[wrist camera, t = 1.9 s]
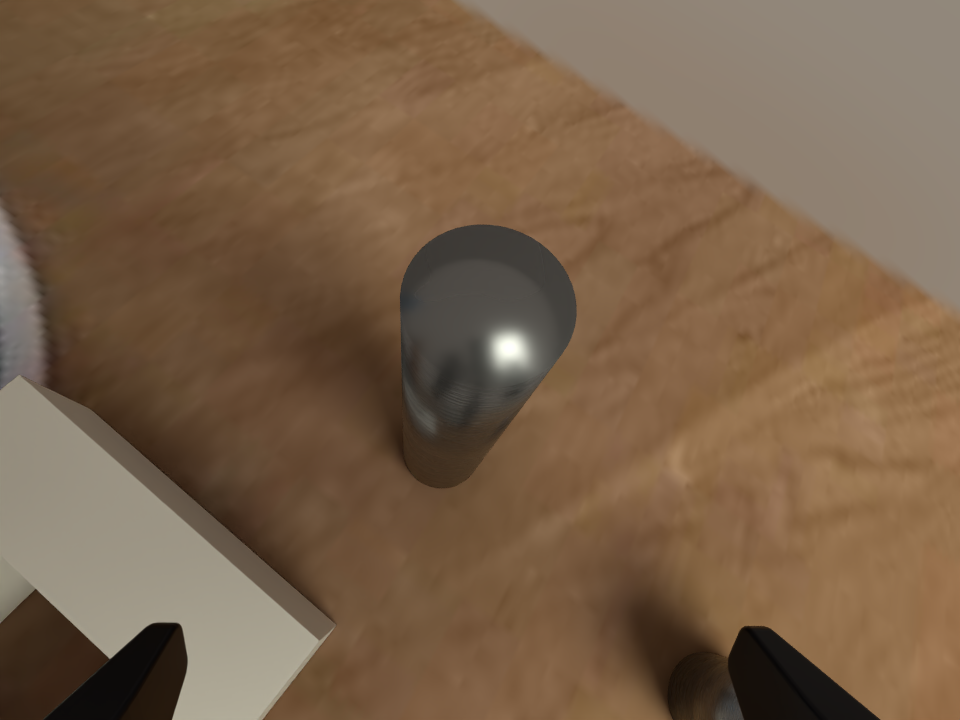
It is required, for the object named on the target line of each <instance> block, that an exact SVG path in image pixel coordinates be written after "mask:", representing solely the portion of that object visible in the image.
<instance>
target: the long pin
mask: <svg viewBox="0 0 960 720" xmlns="http://www.w3.org/2000/svg"><path fill="white" fill-rule="evenodd" d="M400 312H401V361H402V410H403V454H404V459H405V463H406V465H407V468H408V469H409V471H410V472H411V474H412V475H413V476H414V477H415V478H416V479H417V480H418V481H420V482H421V483H423V484H425V485H427V486H430V487H434V488H450V487H453V486H456V485H458V484H461V483H462V482H464V481H465V480H466V479H467V478H469V477H470V475H471V474H472V473H473V472H474V470H475V469H476V468H477V466H478V465H479V464H480V462H481V461H482V460H483V458H484V457H485V456H486V454H487V453H488V452H489V450H490V449H491V448H492V446H493V445H494V444H495V443H496V441H497V440H498V439H499V437H500V436H501V435H502V433H503V432H504V431H505V429H506V428H507V427H508V425H509V424H510V423H511V421H512V420H513V419H514V417H515V416H516V415H517V413H518V412H519V411H520V409H521V408H522V407H523V405H524V404H525V403H526V401H527V400H528V399H529V397H530V396H531V395H532V393H533V392H534V391H535V389H536V388H537V387H538V385H539V384H540V383H541V381H542V380H543V379H544V377H545V376H546V375H547V373H548V372H549V371H550V369H551V368H552V367H553V365H554V364H555V363H556V361H557V360H558V359H559V357H560V356H561V355H562V353H563V352H564V350H565V349H566V347H567V346H568V343H569V341H570V339H571V337H572V334H573V331H574V328H575V322H576V299H575V294H574V290H573V286H572V284H571V281H570V279H569V277H568V275H567V273H566V271H565V270H564V268H563V266H562V265H561V264H560V262H559V261H558V260H557V258H556V257H555V256H554V255H553V254H552V253H551V252H550V251H549V250H548V249H546V248H545V247H544V246H543V245H542V244H540V243H539V242H537V241H536V240H534V239H533V238H531V237H529V236H527V235H525V234H523V233H521V232H518V231H515V230H513V229H509V228H505V227H501V226H494V225H470V226H464V227H460V228H456V229H453V230H450V231H447V232H445V233H443V234H441V235H439V236H437V237H436V238H434V239H433V240H431V241H430V242H428V243H427V244H426V245H425V246H424V247H423V248H422V249H421V250H420V251H419V252H418V253H417V254H416V255H415V257H414V258H413V260H412V261H411V263H410V264H409V266H408V268H407V270H406V273H405V275H404V278H403V282H402V286H401V293H400Z"/></svg>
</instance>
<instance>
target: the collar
mask: <svg viewBox="0 0 960 720" xmlns="http://www.w3.org/2000/svg"><path fill="white" fill-rule="evenodd" d="M35 589H37V590H38V591H39V592H40V593H41V594H42V595H43V596H44V597H45V598H46V599H47V600H48V601H49V602H50V603H51V604H52V605H53V606H55V607H56V608H57V609H58V610H59V611H60V612H61V613H62V614H63V615H64V616H65V617H66V618H67V619H68V620H69V621H70V622H71V623H72V624H74V625H75V626H76V627H77V628H78V629H79V630H80V631H81V632H82V633H83V634H84V635H85V636H86V637H87V638H88V639H89V640H90V641H91V642H93V643H94V644H95V645H96V646H97V647H98V648H99V649H100V650H101V651H102V652H103V653H104V654H105V655H106V656H107V657H108V658H109V659H111V658H112V657H113V656H114V655H115V654H116V653H117V652H118V651H119V650H121V649H122V648H123V647H124V646H125V645H126V644H127V643H128V642H129V641H131V640H132V639H133V638H134V637H135V636H136V635H137V634H138V633H139V632H141V631H142V630H143V629H144V628H145V627H146V626H148V625H150V624H152V623H156V622H176V623H179V624H180V625H181V626H182V629H183V634H184V639H185V645H186V651H187V656H188V666H187V672H186V676H185V679H184V683H183V686H182V689H181V692H180V696H179V699H178V702H177V705H176V709H175V712H174V715H173V718H172V720H262V719H263V718H264V717H265V716H266V714H267V713H268V712H269V710H270V709H271V708H272V707H273V705H274V704H275V703H276V702H277V700H278V699H279V698H280V696H281V695H282V694H283V693H284V691H285V690H286V689H287V688H288V686H289V685H290V684H291V682H292V681H293V680H294V679H295V677H296V676H297V675H298V674H299V672H300V671H301V670H302V668H303V667H304V666H305V665H306V663H307V662H308V661H309V660H310V658H311V657H312V656H313V654H314V653H315V652H316V651H317V649H318V648H319V647H320V646H321V644H322V643H323V642H324V640H325V639H326V638H327V637H328V635H329V634H330V633H331V632H332V630H333V629H334V628H335V626H336V624H335V623H334V622H332V621H331V620H330V619H329V618H328V617H327V616H326V615H324V614H323V613H322V612H321V611H320V610H319V609H318V608H316V607H315V606H314V605H313V604H312V603H311V602H310V601H308V600H307V599H306V598H305V597H304V596H303V595H302V594H300V593H299V592H298V591H297V590H296V589H295V588H294V587H293V586H291V585H290V584H289V583H288V582H287V581H286V580H285V579H283V578H282V577H281V576H280V575H279V574H278V573H277V572H275V571H274V570H273V569H272V568H271V567H270V566H269V565H267V564H266V563H265V562H264V561H263V560H262V559H261V558H259V557H258V556H257V555H256V554H255V553H254V552H253V551H251V550H250V549H249V548H248V547H247V546H246V545H245V544H244V543H242V542H241V541H240V540H239V539H238V538H237V537H236V536H234V535H233V534H232V533H231V532H230V531H229V530H228V529H226V528H225V527H224V526H223V525H222V524H221V523H220V522H218V521H217V520H216V519H215V518H214V517H213V516H212V515H210V514H209V513H208V512H207V511H206V510H205V509H204V508H203V507H201V506H200V505H199V504H198V503H197V502H196V501H195V500H193V499H192V498H191V497H190V496H189V495H188V494H187V493H185V492H184V491H183V490H182V489H181V488H180V487H179V486H177V485H176V484H175V483H174V482H173V481H172V480H171V479H169V478H168V477H167V476H166V475H165V474H164V473H163V472H161V471H160V470H159V469H158V468H157V467H156V466H155V465H154V464H152V463H151V462H150V461H149V460H148V459H147V458H146V457H144V456H143V455H142V454H141V453H140V452H139V451H138V450H136V449H135V448H134V447H133V446H132V445H131V444H130V443H128V442H127V441H126V440H125V439H124V438H123V437H122V436H120V435H119V434H118V433H117V432H116V431H115V430H114V429H113V428H111V427H110V426H109V425H108V424H107V423H106V422H105V421H103V420H102V419H101V418H100V417H99V416H98V415H97V414H95V413H94V412H93V411H92V410H91V409H89V408H87V407H85V406H83V405H81V404H79V403H77V402H75V401H72V400H70V399H68V398H66V397H64V396H62V395H60V394H58V393H56V392H54V391H52V390H50V389H48V388H46V387H44V386H42V385H39V384H37V383H35V382H33V381H31V380H29V379H27V378H25V377H23V376H21V375H18V376H17V377H16V378H15V379H13V380H12V381H11V382H10V383H8V384H7V385H6V386H5V387H3V388H2V389H1V390H0V623H1V622H2V621H3V620H4V619H5V618H6V617H7V616H8V615H9V614H10V613H11V612H12V611H13V610H14V609H15V608H16V607H17V606H18V605H19V604H20V603H21V602H22V601H24V600H25V599H26V598H27V597H28V596H29V595H30V594H31V593H32V592H33V591H34V590H35Z"/></svg>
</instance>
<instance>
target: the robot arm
mask: <svg viewBox="0 0 960 720" xmlns="http://www.w3.org/2000/svg"><path fill="white" fill-rule="evenodd" d="M187 666H188V656H187V651H186V645H185V639H184V634H183V629H182V626H181V625H180V624H179V623H176V622H156V623H152V624H150V625H148V626H146V627H145V628H144V629H143V630H142V631H141V632H139V633H138V634H137V635H136V636H135V637H134V638H133V639H132V640H131V641H129V642H128V643H127V644H126V645H125V646H124V647H123V648H122V649H121V650H119V651H118V652H117V653H116V654H115V655H114V656H113V657H112V658H111V659H109V660H108V661H107V662H106V663H105V664H104V665H103V666H102V667H101V668H99V669H98V670H97V671H96V672H95V673H94V674H93V675H92V676H91V677H89V678H88V679H87V680H86V681H85V682H84V683H83V684H82V685H81V686H79V687H78V688H77V689H76V690H75V691H74V692H73V693H72V694H71V695H69V696H68V697H67V698H66V699H65V700H64V701H63V702H62V703H61V704H59V705H58V706H57V707H56V708H55V709H54V710H53V711H52V712H51V713H49V714H48V715H47V716H46V717H45V718H44V719H43V720H172V718H173V715H174V712H175V709H176V705H177V702H178V699H179V696H180V692H181V689H182V686H183V683H184V679H185V676H186V672H187ZM728 671H729V675H730V678H731V682H732V685H733V688H734V691H735V694H736V697H737V700H738V703H739V706H740V710H741V713H742V716H743V719H744V720H880V719H879V718H878V717H877V716H875V715H874V714H873V713H872V712H871V711H869V710H868V709H867V708H866V707H865V706H863V705H862V704H861V703H860V702H858V701H857V700H856V699H855V698H854V697H852V696H851V695H850V694H849V693H848V692H846V691H845V690H844V689H843V688H842V687H840V686H839V685H838V684H837V683H836V682H834V681H833V680H832V679H831V678H830V677H828V676H827V675H826V674H825V673H824V672H822V671H821V670H820V669H819V668H818V667H816V666H815V665H814V664H813V663H812V662H810V661H809V660H808V659H807V658H805V657H804V656H803V655H802V654H801V653H799V652H798V651H797V650H796V649H795V648H793V647H792V646H791V645H790V644H789V643H787V642H786V641H785V640H784V639H783V638H781V637H780V636H779V635H778V634H777V633H775V632H774V631H773V630H771V629H770V628H768V627H765V626H744V627H743V628H742V629H741V630H740V631H739V633H738V636H737V638H736V640H735V643H734V645H733V647H732V650H731V652H730V654H729V657H728Z"/></svg>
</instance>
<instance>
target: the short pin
mask: <svg viewBox="0 0 960 720" xmlns="http://www.w3.org/2000/svg"><path fill="white" fill-rule="evenodd" d="M668 702H669V708H670V711H671V715H672V717H673V720H744V719H743V716H742V713H741V710H740V706H739V703H738V700H737V697H736V694H735V691H734V688H733V685H732V682H731V678H730V675H729V671H728V658H726V657H723V656H720V655H716V654H713V653H708V652H698V653H694V654H691V655H689V656H687V657H685V658H684V659H683V660H682V661H681V662H680V663H679V664H678V665H677V666H676V668H675V669H674V671H673V673H672V675H671V678H670V682H669V687H668Z"/></svg>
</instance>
